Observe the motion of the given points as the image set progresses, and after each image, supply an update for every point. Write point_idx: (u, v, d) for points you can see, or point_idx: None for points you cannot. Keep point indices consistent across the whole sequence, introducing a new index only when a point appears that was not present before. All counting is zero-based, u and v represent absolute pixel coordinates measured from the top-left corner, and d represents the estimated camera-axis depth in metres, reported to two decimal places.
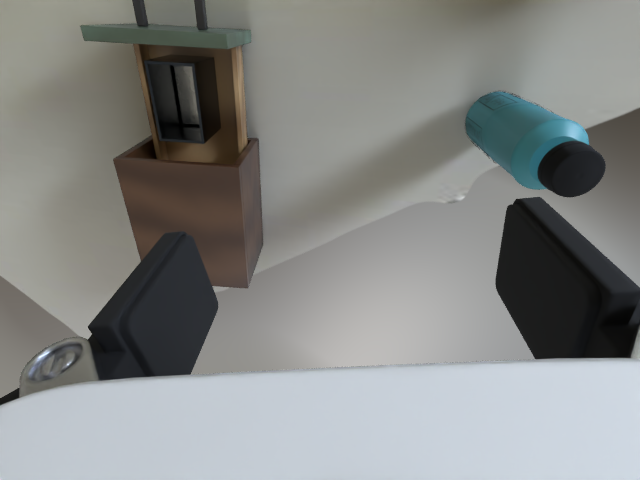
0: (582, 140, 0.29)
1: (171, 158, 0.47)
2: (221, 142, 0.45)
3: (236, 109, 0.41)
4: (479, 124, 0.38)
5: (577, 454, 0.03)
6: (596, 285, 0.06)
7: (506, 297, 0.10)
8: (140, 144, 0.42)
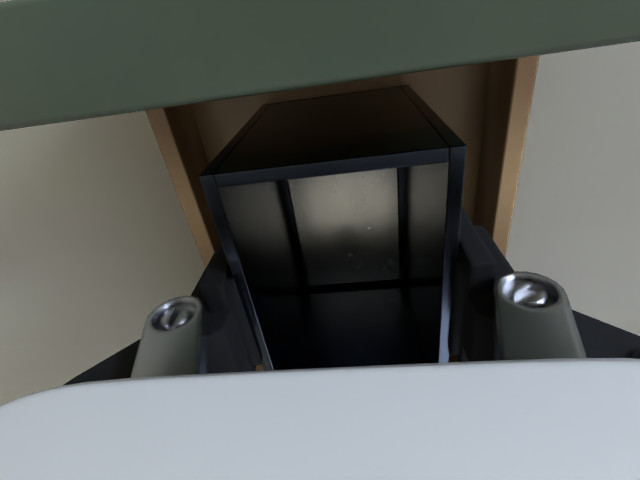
0: None
1: None
2: None
3: (495, 240, 0.12)
4: None
5: (577, 454, 0.03)
6: (465, 259, 0.07)
7: None
8: None
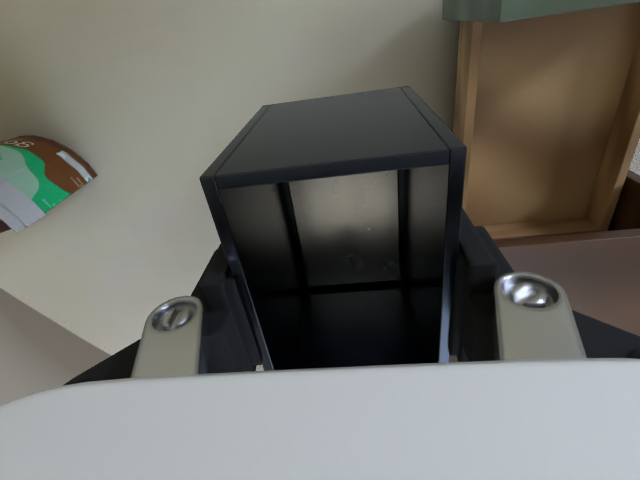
0: None
1: None
2: (559, 177, 0.27)
3: None
4: None
5: (577, 454, 0.03)
6: (465, 259, 0.07)
7: None
8: None
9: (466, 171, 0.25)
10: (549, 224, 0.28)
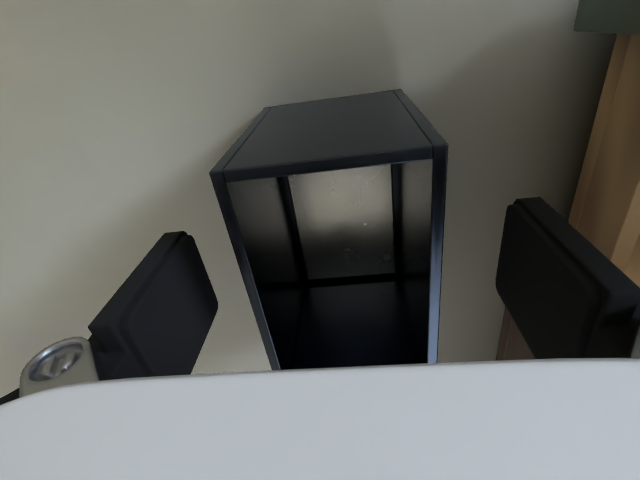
0: None
1: None
2: None
3: None
4: None
5: (577, 454, 0.03)
6: (596, 285, 0.06)
7: (506, 297, 0.10)
8: None
9: None
10: None
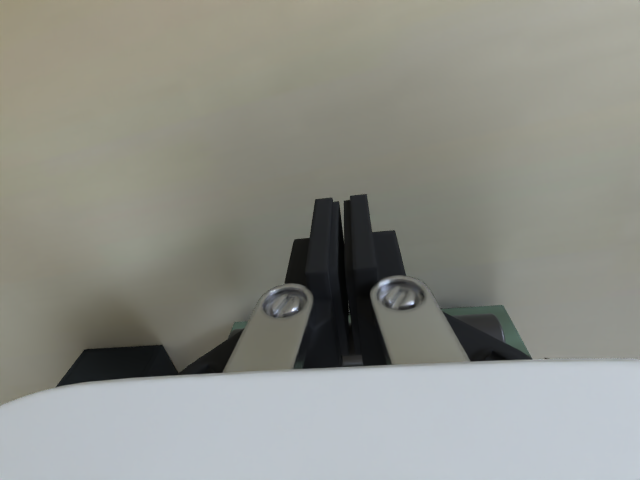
0: None
1: None
2: None
3: None
4: None
5: (577, 454, 0.03)
6: (352, 264, 0.08)
7: None
8: None
9: None
10: None
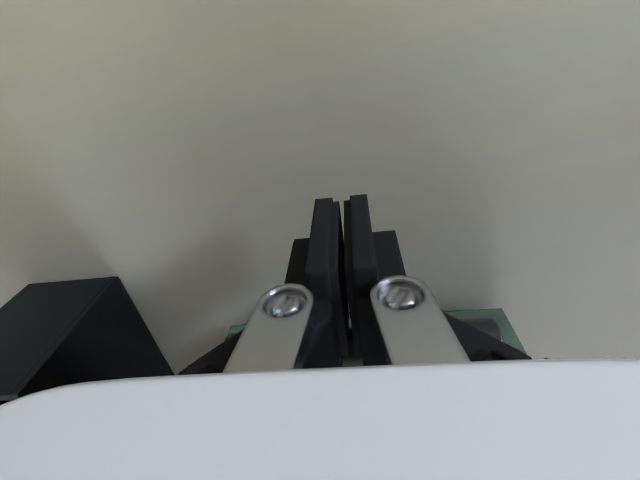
0: None
1: None
2: None
3: None
4: None
5: (577, 454, 0.03)
6: (352, 264, 0.08)
7: None
8: None
9: None
10: None
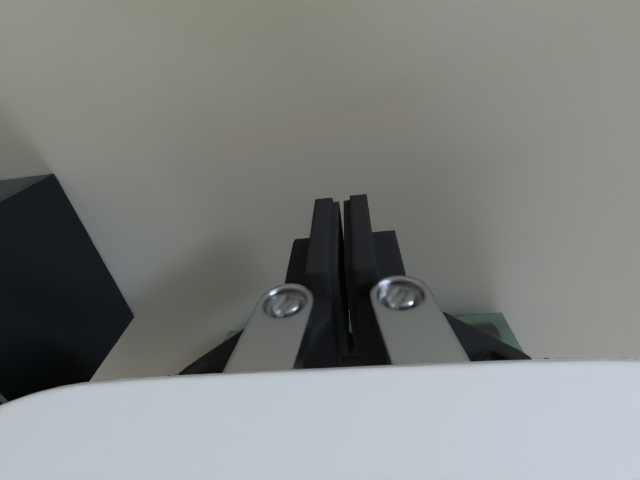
0: None
1: None
2: None
3: None
4: None
5: (577, 454, 0.03)
6: (352, 264, 0.08)
7: None
8: None
9: None
10: None
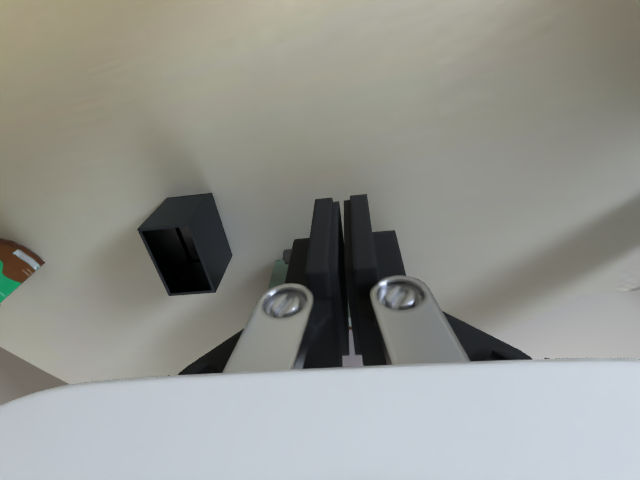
0: None
1: None
2: None
3: None
4: None
5: (577, 454, 0.03)
6: (352, 264, 0.08)
7: None
8: None
9: None
10: None
